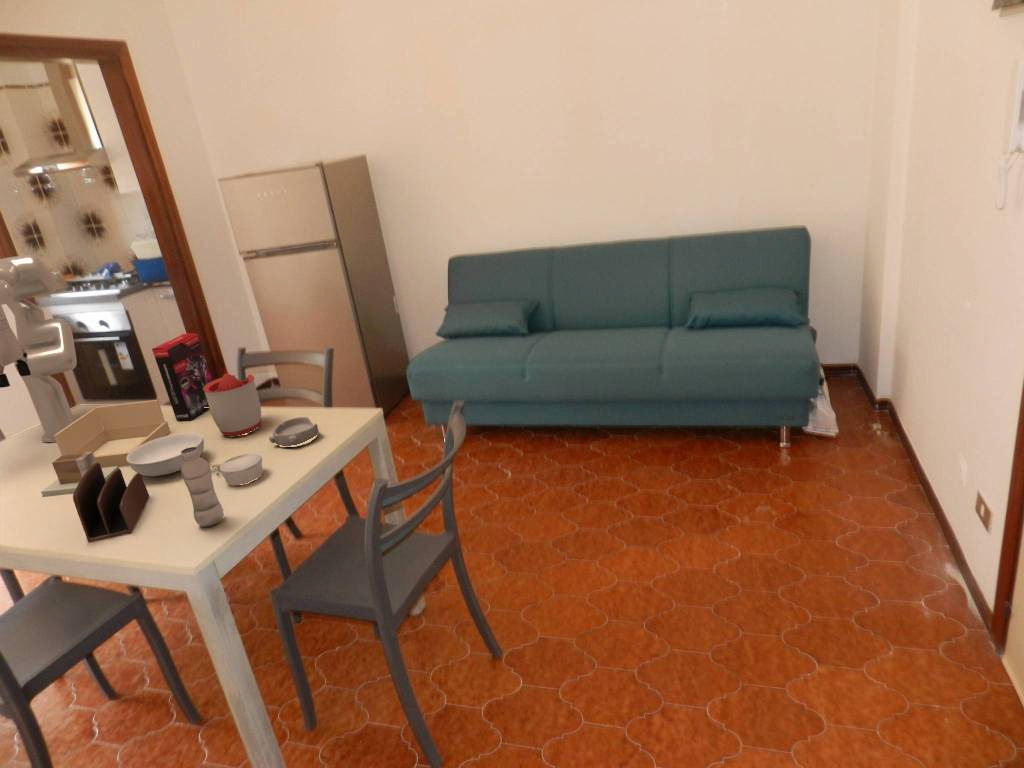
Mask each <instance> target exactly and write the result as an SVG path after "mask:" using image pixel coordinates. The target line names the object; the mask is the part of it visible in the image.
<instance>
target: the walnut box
mask: <svg viewBox="0 0 1024 768" xmlns="http://www.w3.org/2000/svg"><path fill="white" fill-rule="evenodd" d="M94 456H95V454H94V452H85V453H76V454H67V455H60V456H59V457H58V458H56V459H55V460H53V461H52V462H51V463H52V464H51V465H52V466H53V468H54V471H55V474H56V476H57V479H59V482H60V484H68V483H77V482H80V481H81V479H82V478H83V476H84V475H85V473H86V472H87V471H88V470H89V468H90V467H91V466H93V465H94V464H95V463H96V460H95V457H94Z"/></svg>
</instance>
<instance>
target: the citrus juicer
mask: <svg viewBox="0 0 1024 768" xmlns="http://www.w3.org/2000/svg"><path fill="white" fill-rule="evenodd" d="M203 390H204V391H205V395H206V398H207V401H208V405H209V411H210V415H211V417H212V419H213V421H214V424H215V425H216V426H217V429H218V430H219V432H220V433H221V434H222V435H223V436H224V437H226V436H228V437H227V438H231V437H230V436H237V437H239V436H238V435H242V434H245V433H248V432H250V431H253V430H254V429H256V428H257V427H259V426H260V427H261V425H262V424H261V423H262V407H261V402H260V398H259V394H258V391H257V386H256V382H255V376H254V375H253V374H248V375H247V376H246V377H245V380H239V379H238V378H237V377H236V375H235V374H233V375H232V374H230V373H227V372H226V373H224V374H223V376H222V377H220V378H216V379H214V380H212V381H211V382H209V383H208V384H206V385H205V386H204V387H203ZM260 427H259V428H260ZM253 432H254V431H253Z"/></svg>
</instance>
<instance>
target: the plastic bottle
mask: <svg viewBox="0 0 1024 768" xmlns="http://www.w3.org/2000/svg"><path fill="white" fill-rule="evenodd" d="M181 455H182V459H183V460H184V463H183V465H182V468H181V470H180V475H181V478H182V481H183V482H184V483H185V486H186V487H187V490H188V493H189V495H190V498H191V503H192V507H193V518H194V520H195V522H196V524H197V525H199V526H200V527H202V528H206V527H212V526H214V525H217V524H218V523H220V522H221V521H223V519H224V516H225V515H224V508H223V506H222V504H221V503H220V501H219V498H218V496H217V494H216V491H215V487H214V481H213V477H212V469H211V465H210V463H209V462H208V461H207V460H206V459H204V458H202V457H201V455H200V453H199V451H198V448H197V447H189V448H186V449H184V450H182V451H181ZM199 456H200V457H199Z"/></svg>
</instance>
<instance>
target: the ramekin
mask: <svg viewBox="0 0 1024 768" xmlns="http://www.w3.org/2000/svg"><path fill="white" fill-rule="evenodd" d="M219 472H220V473H221V474H222V477H223V479H224V481H225V482H226V484H228V485H229V486H231V485H240V484H245V483H248V482H250V481H252V480H254V479H256V478H258V477H259V476H260V475H261V474H262V475H263V473H262V472H264V471H263V458H262V455H261V454H259V453H256V452H255V453H243V454H239V455H235V456H233V457H230V458H228V459H226V460H224V461H223V462H222V463H221V464H220V465H219ZM262 475H261V476H262Z"/></svg>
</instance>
